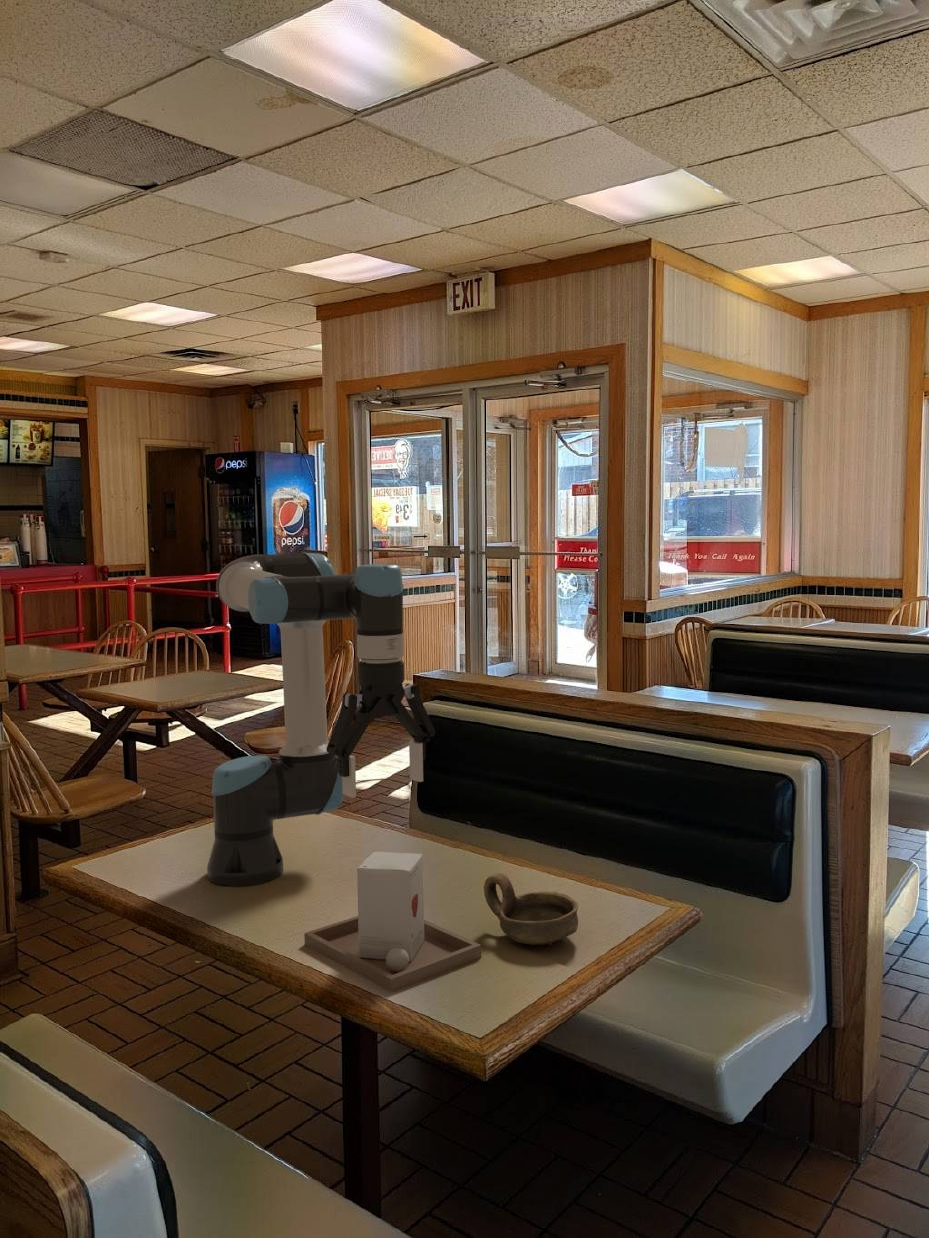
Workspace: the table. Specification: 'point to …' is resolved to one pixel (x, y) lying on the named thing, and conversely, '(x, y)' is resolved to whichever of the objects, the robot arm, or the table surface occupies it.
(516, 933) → the bowl
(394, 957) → the ball
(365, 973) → the tray
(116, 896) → the table surface
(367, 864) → the supplement box
